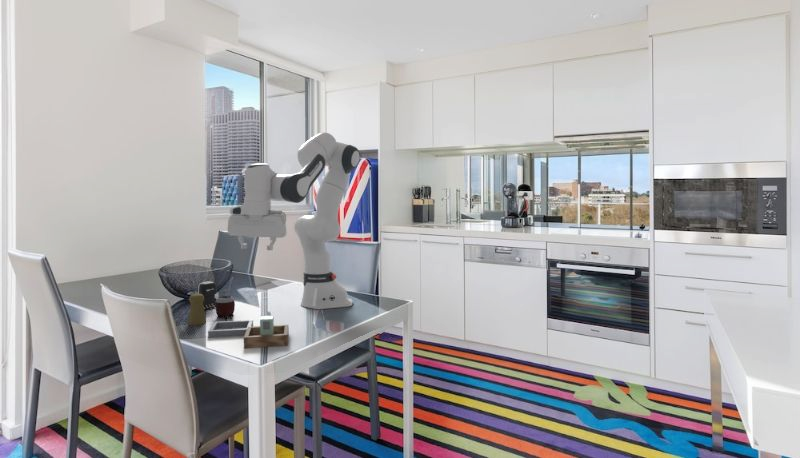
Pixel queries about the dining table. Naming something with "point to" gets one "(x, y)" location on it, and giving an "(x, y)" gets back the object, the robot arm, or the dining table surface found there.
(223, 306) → the mate gourd
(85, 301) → the dining table surface
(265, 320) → the plug
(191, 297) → the olive waisted shaker
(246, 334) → the shallow wooden tray
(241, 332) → the shallow grey tray
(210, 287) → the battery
